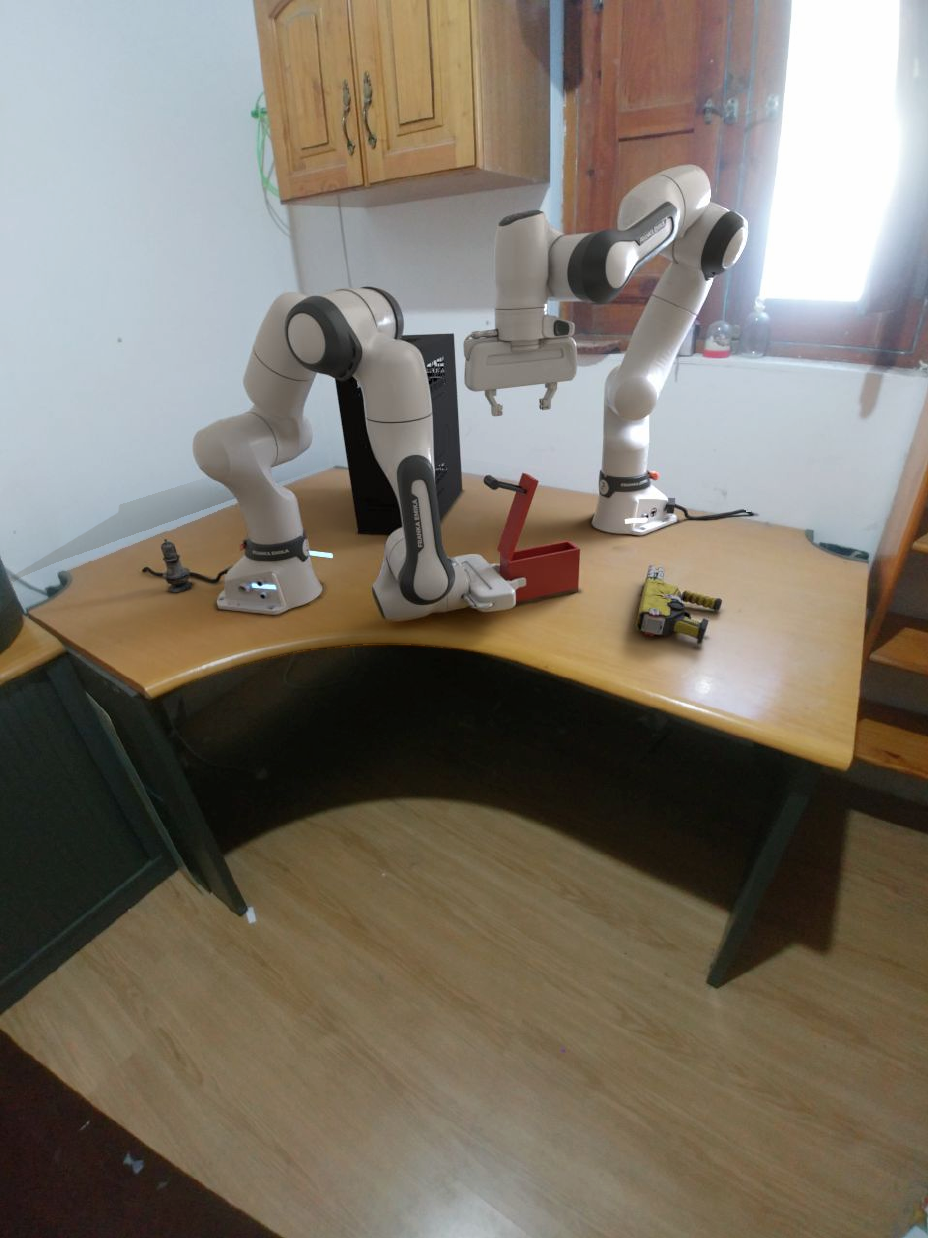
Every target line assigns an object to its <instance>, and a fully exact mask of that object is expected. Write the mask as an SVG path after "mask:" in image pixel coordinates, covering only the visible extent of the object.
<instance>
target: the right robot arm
mask: <svg viewBox="0 0 928 1238" xmlns="http://www.w3.org/2000/svg"><path fill="white" fill-rule="evenodd" d="M711 189H712V188H711V182H710V179H709V177H708V175H707V173H706V171H705V170H704V169H703V168H702V167H700V166H698V165H695V164H690V163H689V164H688V163H687V164H681V165H677V166H674V167H670V168H668V169H665V170H662V171H660V172H658V173H655V174H654V175H651V176H650V177H648V178H646V179H645V180H643V181H641V182H639V183H638V184H637V185H635V186H634V187H633V188H632V189H631V190H630V191H629V192H628V193H627V194H626V195H625V196H624V197H623V198H622V200H621V201H620V204H619V208H618V213H617V217H616V218H617V219H616V220H617V221H616V226H617V229H615V228H607V229H601V230H595V231H593V232H584V233H582V232H581V233H573V234H565V232H562V231H560V230H558V229H557V228H555V227H554V226H553V225H552V224H551V223H550V222H549V221H548V219H547V218H546V213H545V212H544V211H543V210H540V209H532V210H531V209H530V210H526V211H525V210H524V211H523V212H515V213H513V214H509V215H507V216H505V217H503V218H502V219H501V220H500V221H499V222H498V224H497V227H496V230H495V234H494V242H493V282H494V285H495V291H496V295H495V296H496V297H495V302H494V329H486V330H481V331H480V330H474V331H471V333H470V334H468V335H467V336H466V337H465V339H464V340H463V356H464V358H465V362H464V373H463V374H464V377H463V378H464V381H463V382H464V385H465V387H466V388H467V389H468V390H469V391H472V392H477V393H478V392H484V396H485V398H486V400H487V401H488V403H489V405H490V414H491V415H492V416H493V417H500V416H503V413H504V411H503V408H504V407H503V406H504V405H502V404H500V403H498V402H497V401H496V398H495V397H497V390H502V389H510V388H511V389H512V388H520V387H528V386H536V385H537V386H538V385H544V388H545V389H546V391H545V393H544V395H543V398H538V399H539V401H538V402H539V404H538V405H539V406H538V407H539V410H542V411H547V410H551V409H552V399H553V398H554V396H555V394H556V392H557V390H558V383H563V382H571V381H573V380H574V378H575V377H576V376H577V373H578V349H577V343H576V340H575V339H574V338H573V337H572V336H573V335H574V334H575V330H576V328H575V327H576V324H575V323H574V322H573V321H570V320H567V319H565V318H560V317H557V316H556V315H550V314H549V311H548V310H549V307H548V306H549V302H583V303H590V304H591V303H592V304H597V305H598V304H599V305H602V304H607V303H610V302H612V301H614V299H617V297H618V296H619V295H620V294H621V293H622V291H623V290H624V288H625V287H626V286H627V284H628V283H629V281H630V280H631V279H632V277H633V276H634V275H635V274H636V273H637V272H638V271H639V270H640V269H641V268H642V267H645V265H646V264H648V263H650V261H651V260H653V259H654V258H655V257H656V256H658V255H659V256H661V257H662V258H664V259H667V260H668V261H670V263H669V264H668V266H667V267H666V269H665V270H664V272H663V274H662V275H661V276H660V278H659V280H658V281H657V283H656V285H655V287H654V289H653V291H652V293H651V295H650V297H649V299H648V301H647V303H646V305H645V308H644V309H643V311H642V314H641V316H640V317H639V320H638V321H637V323H636V325H635V327H634V330H633V332H632V335H631V338H630V340H629V344H628V345H627V349H626V351H625V353H624V356H623V359H622V361H621V363H620V364H618V365H616V366H615V367H613V369H611V370H610V372H608V375H607V376H606V379H605V382H604V389H603V390H604V391H603V425H602V429H603V431H602V436H603V437H602V453H601V468H600V470H599V474H598V492H599V493H598V498H597V502H596V507H595V511H594V514H593V517H592V520H591V525H592V526H593V527H594V528H595V529H597V530H599V531H601V532H605V533H611V534H623V535H625V534H626V535H632V536H633V535H634V536H645V535H646V534H650V533H652V532H654V531H657V530H660V529H662V528H665V527H668V526H670V525H672V524H675V523H677V522H678V516H677V515H676V514H675V509H677V510H680V511H681V512H683V515H684V518H686V519H688V520H691V521H702V520H709V519H719V518H723V517H729V516H735V515H739V514H748V515H749V516H751V517H753V516H755V513H754V512H753V511H751V510H750V511H751V512H746V510H744V509H745V508H741V509H737V510H733V511H726V512H720V513H715V514H708V515H707V514H706V515H700V516H699V515H697V516H693V515H690V514H689V512H688V510H687V509H686V508H685V507H684V506H682V505H679V504H677V503H676V497H667V496H666V495H665V494H664V493H663V492H661V491H660V490H659V489H658V488H656V487H655V486H654V485H652V483H651V480H653V481H658V479H659V478H660V473H659V472H657V471H654V470H651V471H649V470H648V469H647V466H648V458H649V457H648V455H649V446H650V414H651V413H652V412H653V411H654V409H655V408H656V406H657V403H658V400H659V397H660V395H661V393H662V392H663V391H662V390H663V388H664V387H665V384H666V382H667V379H668V377H669V375H670V372H671V370H672V367H673V365H674V362H675V361H676V360H675V359H676V357H677V355H678V352H679V351H680V349H681V347H682V345H683V343H684V341H685V339H686V338H687V335H688V333H689V332H690V331H691V328H692V326H693V324H694V322H695V320H696V318H697V316H698V315H699V313H700V311H701V309H702V307H703V305H704V303H705V301H706V299H707V296H708V294H709V291H710V288H711V287H712V283H713V281H714V279H715V278H716V277H718V276H720V275H722V274H723V273H725V272H727V271H728V270H729V269H731V268H732V267H733V266H734V265H735V264H736V262H737V261H738V260H739V258H740V257H741V255H742V253H743V251H744V248H745V246H746V244H747V241H748V236H749V227H748V221H747V220H746V219H745V218H744V217H743V216H742V215H741V214H740V213H739V212H736V211H735V210H731V209H730V210H729V209H727V208H725V207H723V206H721V205H720V204H717V203H715V202H713V201H710V199H711V191H712V190H711Z"/></svg>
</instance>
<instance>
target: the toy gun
mask: <svg viewBox="0 0 928 1238" xmlns="http://www.w3.org/2000/svg"><path fill="white" fill-rule="evenodd" d="M655 570H656V571H657V570H658V571H657V572H655ZM664 576H665V567H664V566H660V565H659V566H658V568H656V564H655V565H654V564H650V565H649V566H648V568H647V573H646V577H645V580H644V584H643V589H642V593H641V598H640V602H639V608H638V612H637V613H638V614H637V618H636V623H635V628H636V629H637V631H639V632H642V633H643V632H644V635H645V636H650V637H654V636H655V635H658V636H666V635H669V634H671V633H673V632H675V633H679V634H682V635H686V636H689V637H691V638H694V639H696V640H697V644H700V645H701V644H702V643H703V640H704V638H705V635H706V632H707V629H708V625H709V621H710V620H709V619H706V618H705V617H704V618H702V620H701V622H700V621H698V620H694V619H692V615H691V614H690V612H689V611H686V610H687V609H686V605H685V604H684V603H683V602H685V603H689V604H692V605H696V606H699V607H701V606H702V607H703V608H705V609H706V608H709V610H713V611H715V612H719V611H720V609H721V608H722V603H723V599H722V598H720V597H718V598H717V597H715V596H714V597H711V596H710V595H704V594H703V593H697V592H695V591H694V592H691V590H688V589H685V590H684V591H682V593H681V589H680V588H678V586H676V585H671V584H669V583H667V582H664Z"/></svg>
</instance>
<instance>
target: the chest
mask: <svg viewBox="0 0 928 1238" xmlns="http://www.w3.org/2000/svg"><path fill="white" fill-rule="evenodd" d="M498 555H499V564H500V574H499V575H500V576H501V577H502V578H503V579H504V580H505V581H508V580H510V581H513V580H515V577H518V576H523V577H524V578H525V579H526V586H524V587H519V588H518V589H516V590H515V592H516V604H515V606H519V605H524V604H527V603H532V602H537V601H542V600H546V599H551V598H555V597H560V596H565V595H570V594H574V593H579V583H580V561H581V548H580V547H578V546H577V545H575V544H574V543H573V542H572V541H570V540H563V541H559V542H558V541H557V542H553V543H547V544H542V545H538V546H537V545H536V546H533V547H527V548H522V549H517V550H516V549H515V551H514V554H513V557H512V560H507V559H505V558H504V557H503V556H502V555H501V554H500V553H498Z"/></svg>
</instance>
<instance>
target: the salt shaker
mask: <svg viewBox="0 0 928 1238" xmlns="http://www.w3.org/2000/svg"><path fill="white" fill-rule="evenodd" d="M163 541H164V542H163V543H161V545H160V549H161V552H162V555H163V558H162V561H163V562H165V567H166V571H165V572H163V573H164V574H163V575H162V576H161V577H162V578H163V579H164V580H165V582H166V583H168V585H170V586H168V591H169V592H171V593H180V592H184V591H187V590H190V589H191V588H192V587H193V585H194V584H193V582H192V581H189V579H190V576H189V575H190V574H189V572H191V569H190V568H188V567H184V566H183V565H182V563H181V560H180V557H181V555H180V554H178V552H177V548H176V546H175V543H174V542H172V541H169V540H168V539H167V538H164V540H163Z"/></svg>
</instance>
